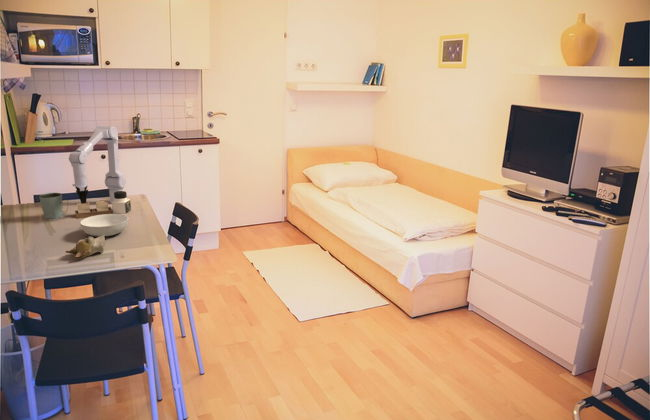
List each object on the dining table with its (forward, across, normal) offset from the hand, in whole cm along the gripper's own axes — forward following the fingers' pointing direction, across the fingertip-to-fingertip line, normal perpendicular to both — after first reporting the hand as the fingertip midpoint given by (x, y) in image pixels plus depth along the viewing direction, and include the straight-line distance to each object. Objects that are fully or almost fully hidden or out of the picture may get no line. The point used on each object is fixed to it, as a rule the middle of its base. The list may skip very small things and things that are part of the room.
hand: (83, 201), depth 263 cm
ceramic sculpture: (+8, +58, -1) cm, 59 cm away
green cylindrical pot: (+8, -5, -15) cm, 18 cm away
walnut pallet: (+8, 0, +4) cm, 9 cm away
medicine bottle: (+8, +1, +18) cm, 20 cm away
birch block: (+7, 0, 0) cm, 7 cm away
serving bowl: (+8, +32, +7) cm, 34 cm away
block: (+7, 0, +8) cm, 11 cm away
